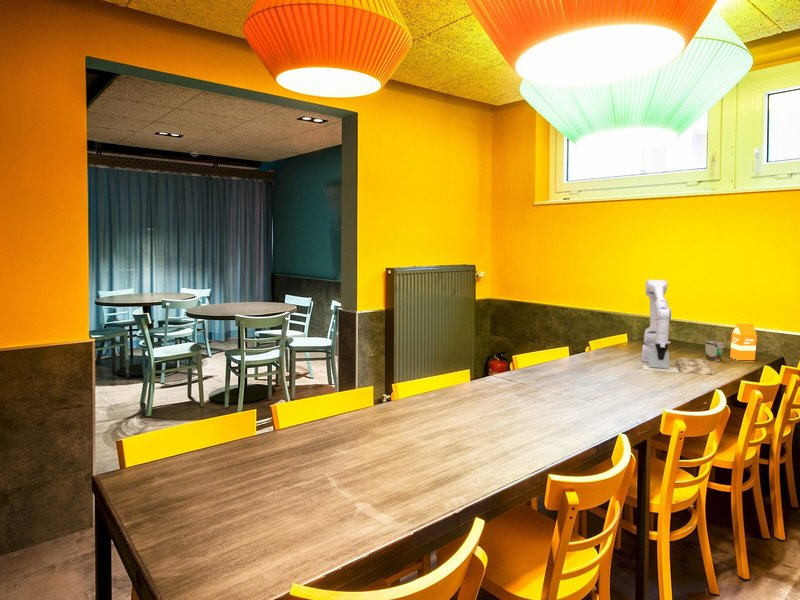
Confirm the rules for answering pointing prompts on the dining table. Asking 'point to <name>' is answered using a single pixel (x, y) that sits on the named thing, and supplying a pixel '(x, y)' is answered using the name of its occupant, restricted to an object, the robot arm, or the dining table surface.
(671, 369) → the beige panel
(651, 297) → the robot arm
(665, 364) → the tall block
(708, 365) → the wooden tray
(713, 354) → the food container
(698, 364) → the offcut block top
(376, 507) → the dining table surface
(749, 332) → the orange juice
